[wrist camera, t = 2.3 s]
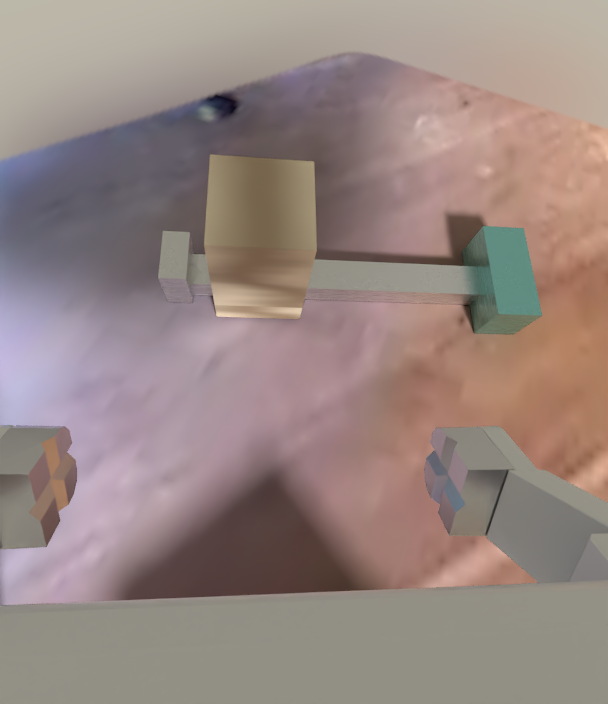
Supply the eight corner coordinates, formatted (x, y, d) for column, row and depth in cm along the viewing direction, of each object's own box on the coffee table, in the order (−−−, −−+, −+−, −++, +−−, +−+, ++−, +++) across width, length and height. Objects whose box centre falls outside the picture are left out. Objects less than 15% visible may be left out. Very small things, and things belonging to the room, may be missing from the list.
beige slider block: (298, 248, 29) (314, 161, 22) (299, 318, 27) (316, 250, 20) (220, 244, 28) (210, 154, 21) (216, 316, 27) (203, 244, 20)
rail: (498, 253, 31) (523, 228, 28) (513, 334, 29) (542, 315, 26) (173, 238, 29) (165, 208, 26) (165, 324, 27) (155, 302, 24)
